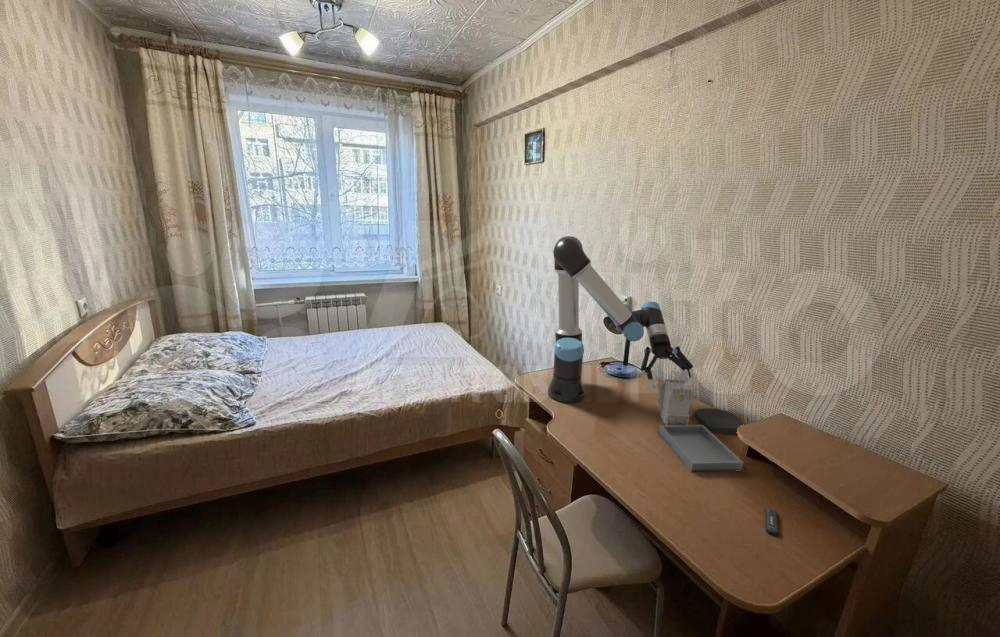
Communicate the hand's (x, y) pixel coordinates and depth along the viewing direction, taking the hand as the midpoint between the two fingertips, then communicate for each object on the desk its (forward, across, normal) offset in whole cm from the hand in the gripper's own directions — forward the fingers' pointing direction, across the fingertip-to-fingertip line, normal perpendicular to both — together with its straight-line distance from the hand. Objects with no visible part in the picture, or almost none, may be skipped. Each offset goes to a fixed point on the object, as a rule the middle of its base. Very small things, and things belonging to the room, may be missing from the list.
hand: (672, 386), depth 154 cm
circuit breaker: (+10, 0, +6) cm, 12 cm away
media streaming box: (+14, +15, +3) cm, 21 cm away
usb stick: (+49, -1, -32) cm, 58 cm away
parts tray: (+26, -3, -10) cm, 27 cm away
